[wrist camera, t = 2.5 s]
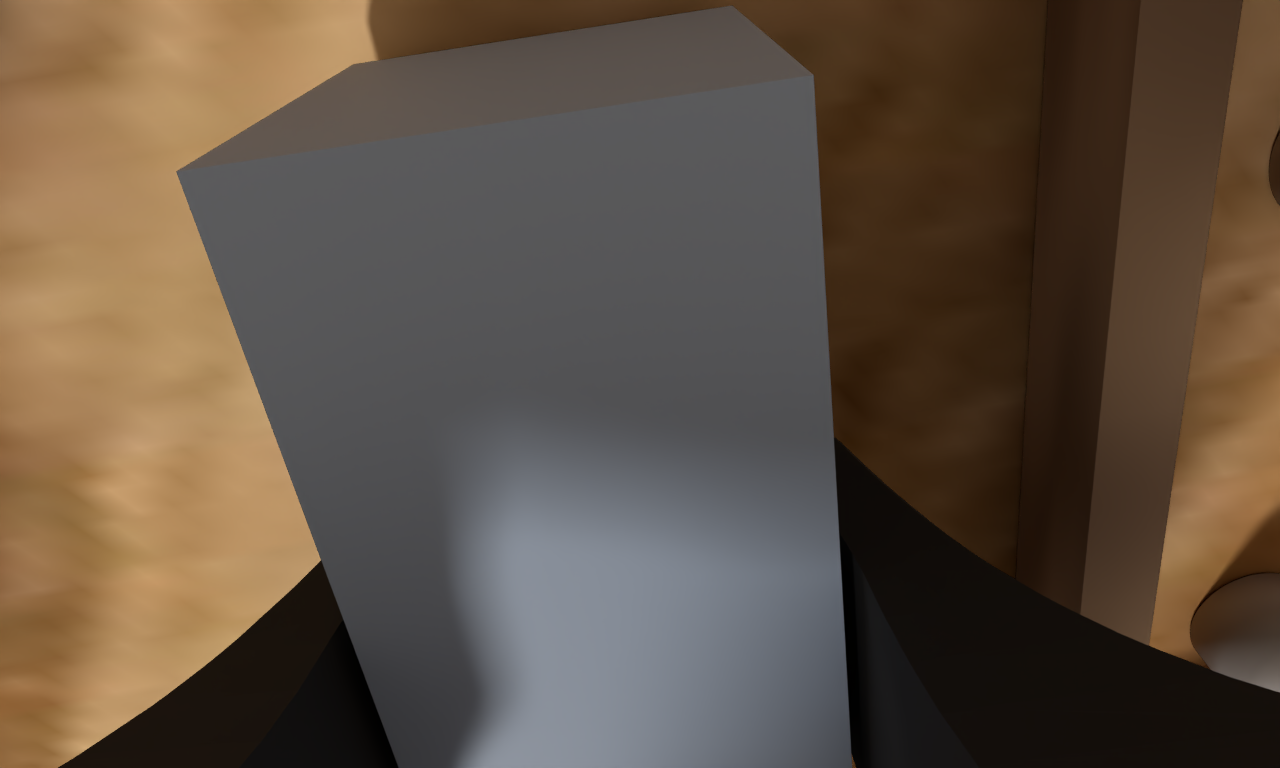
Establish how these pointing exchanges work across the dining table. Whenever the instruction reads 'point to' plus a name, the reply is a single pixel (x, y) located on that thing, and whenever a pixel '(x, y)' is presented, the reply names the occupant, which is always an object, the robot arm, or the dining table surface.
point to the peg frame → (1127, 314)
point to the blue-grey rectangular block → (557, 390)
